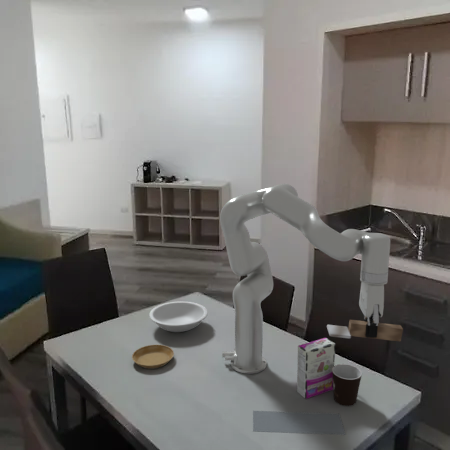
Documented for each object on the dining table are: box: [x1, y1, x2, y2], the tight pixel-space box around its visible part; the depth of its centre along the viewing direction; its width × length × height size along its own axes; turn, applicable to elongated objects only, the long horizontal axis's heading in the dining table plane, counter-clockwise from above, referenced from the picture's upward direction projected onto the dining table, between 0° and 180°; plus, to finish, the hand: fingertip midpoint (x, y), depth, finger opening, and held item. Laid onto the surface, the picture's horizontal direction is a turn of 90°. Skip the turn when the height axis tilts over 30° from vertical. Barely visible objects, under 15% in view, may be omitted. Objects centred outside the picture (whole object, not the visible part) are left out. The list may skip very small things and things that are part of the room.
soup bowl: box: [148, 300, 209, 333], centre depth 186 cm, size 24×24×7 cm
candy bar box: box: [296, 337, 336, 400], centre depth 140 cm, size 11×5×16 cm, turn 117°
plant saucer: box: [131, 344, 175, 370], centre depth 161 cm, size 15×15×3 cm
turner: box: [326, 319, 404, 342], centre depth 134 cm, size 21×6×4 cm, turn 86°
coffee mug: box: [332, 363, 363, 407], centre depth 138 cm, size 12×9×10 cm
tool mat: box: [252, 410, 347, 436], centre depth 127 cm, size 25×9×1 cm, turn 87°
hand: (369, 334), depth 134 cm, fingers closed on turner, 2 cm apart
